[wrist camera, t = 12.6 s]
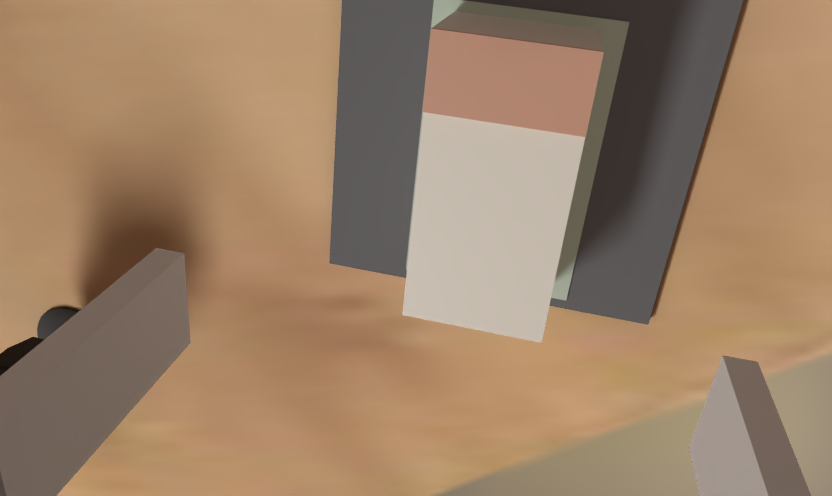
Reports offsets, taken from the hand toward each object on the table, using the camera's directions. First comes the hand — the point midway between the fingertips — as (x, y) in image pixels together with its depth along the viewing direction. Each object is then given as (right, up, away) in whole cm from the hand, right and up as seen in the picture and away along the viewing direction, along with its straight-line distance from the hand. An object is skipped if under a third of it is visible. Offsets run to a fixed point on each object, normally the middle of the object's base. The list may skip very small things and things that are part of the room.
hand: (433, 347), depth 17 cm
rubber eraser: (+4, +6, +14) cm, 16 cm away
